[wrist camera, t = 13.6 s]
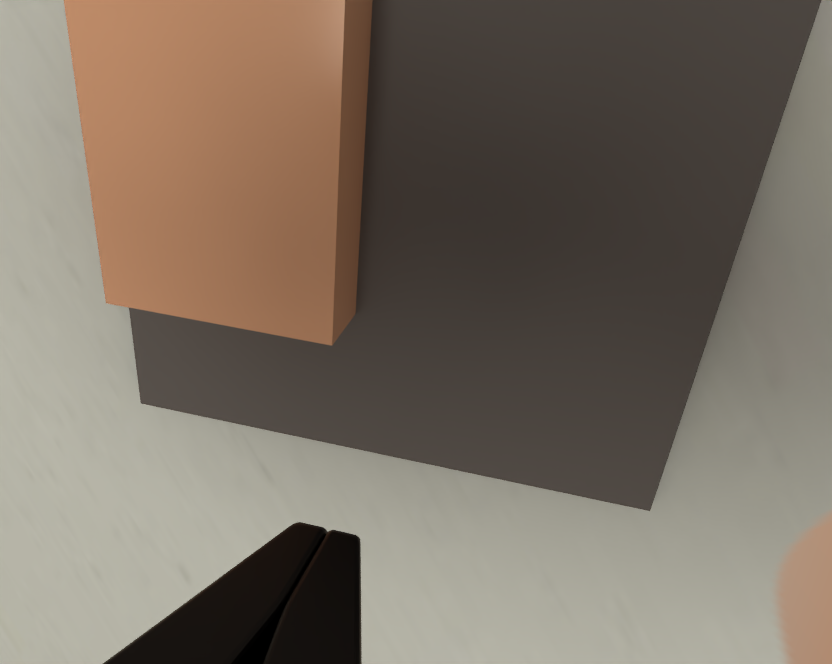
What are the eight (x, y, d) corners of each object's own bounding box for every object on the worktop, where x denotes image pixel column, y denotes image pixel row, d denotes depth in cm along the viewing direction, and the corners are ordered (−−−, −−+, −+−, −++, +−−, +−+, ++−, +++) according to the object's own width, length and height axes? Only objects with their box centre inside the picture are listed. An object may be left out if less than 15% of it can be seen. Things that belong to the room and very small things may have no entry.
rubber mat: (821, -18, 14) (827, -19, 14) (648, 502, 21) (649, 510, 21) (91, -83, 17) (81, -85, 17) (147, 397, 24) (140, 402, 23)
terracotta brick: (345, -22, 14) (56, -50, 15) (332, 345, 18) (106, 303, 19) (373, -16, 16) (116, -42, 17) (355, 314, 20) (149, 276, 21)
